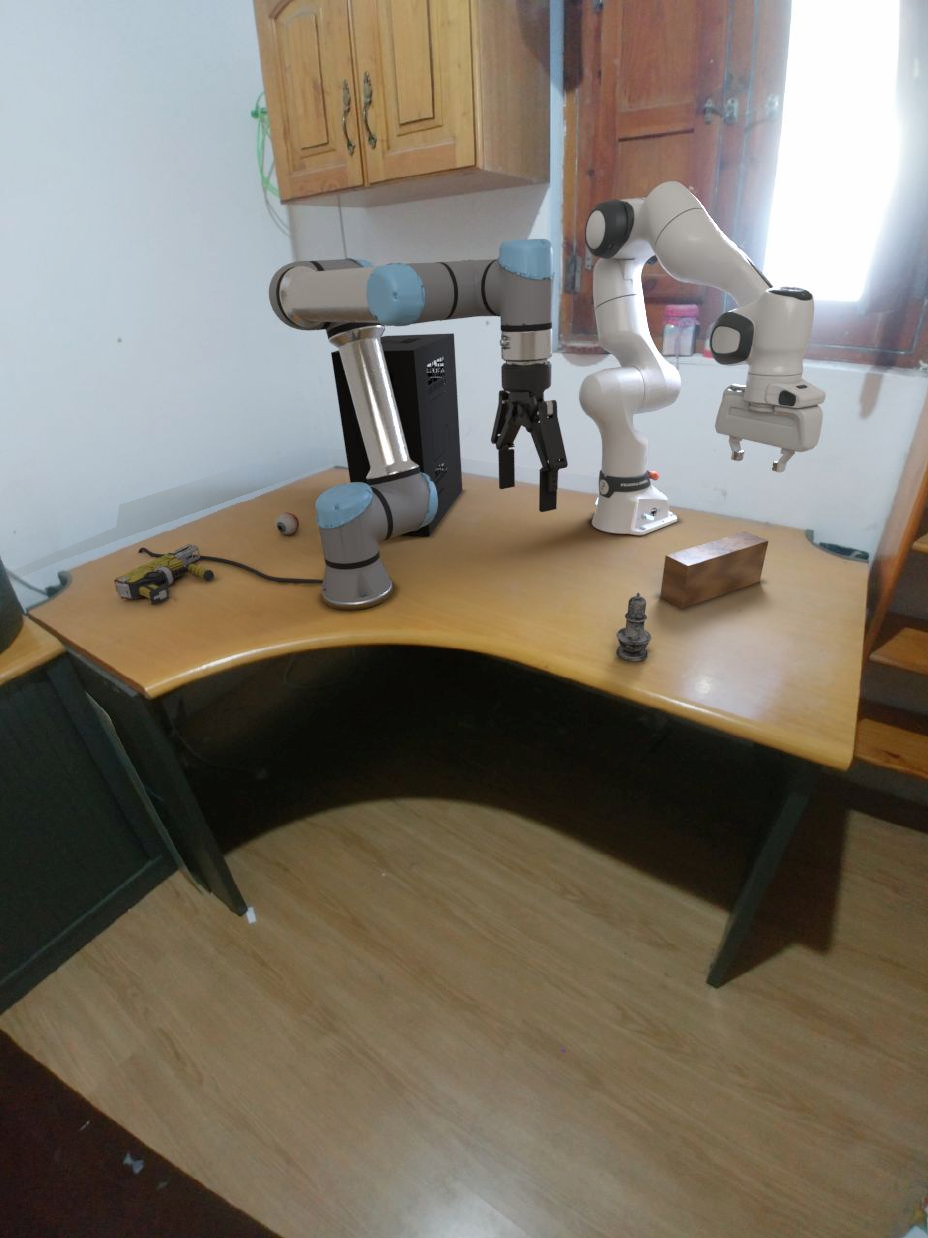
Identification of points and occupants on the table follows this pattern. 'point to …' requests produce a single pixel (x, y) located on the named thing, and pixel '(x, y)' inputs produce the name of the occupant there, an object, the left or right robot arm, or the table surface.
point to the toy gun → (160, 575)
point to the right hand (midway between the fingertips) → (756, 465)
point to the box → (713, 569)
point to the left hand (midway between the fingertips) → (526, 498)
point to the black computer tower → (414, 413)
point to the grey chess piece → (634, 631)
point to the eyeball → (287, 523)
